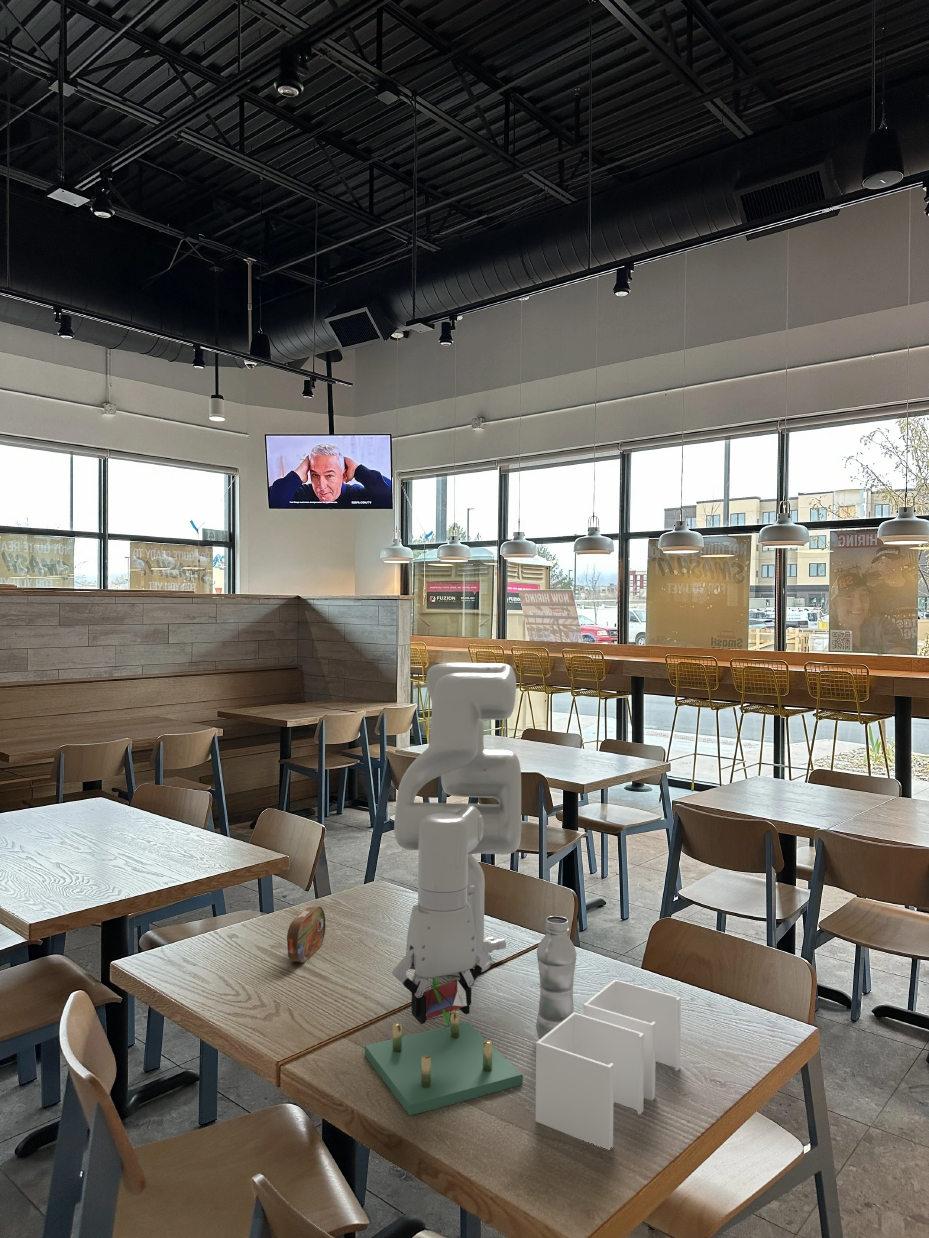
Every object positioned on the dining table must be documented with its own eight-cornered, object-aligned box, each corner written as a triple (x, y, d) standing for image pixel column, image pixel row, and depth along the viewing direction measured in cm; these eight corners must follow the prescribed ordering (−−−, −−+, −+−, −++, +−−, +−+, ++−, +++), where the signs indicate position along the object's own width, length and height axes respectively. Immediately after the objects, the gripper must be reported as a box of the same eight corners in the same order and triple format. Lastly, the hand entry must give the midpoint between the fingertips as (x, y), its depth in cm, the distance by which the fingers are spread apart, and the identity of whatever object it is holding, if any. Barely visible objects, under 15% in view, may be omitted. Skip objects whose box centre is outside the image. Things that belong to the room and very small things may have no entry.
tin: (299, 969, 165) (299, 926, 165) (283, 968, 165) (284, 924, 165) (326, 940, 179) (327, 901, 179) (312, 939, 180) (313, 900, 180)
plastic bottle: (548, 1057, 132) (550, 929, 132) (528, 1037, 138) (529, 915, 138) (584, 1049, 135) (585, 924, 135) (562, 1030, 141) (563, 910, 141)
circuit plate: (467, 1030, 141) (467, 1021, 141) (522, 1084, 125) (522, 1074, 125) (364, 1054, 133) (364, 1045, 133) (409, 1115, 116) (409, 1104, 116)
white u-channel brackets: (614, 1047, 136) (614, 979, 136) (680, 1068, 130) (680, 997, 130) (535, 1122, 115) (536, 1042, 115) (609, 1152, 109) (610, 1067, 109)
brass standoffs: (457, 1033, 137) (457, 1008, 137) (493, 1070, 126) (494, 1043, 126) (391, 1048, 131) (391, 1023, 131) (423, 1088, 120) (423, 1060, 120)
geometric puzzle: (403, 1016, 125) (436, 973, 125) (409, 995, 132) (440, 955, 132) (442, 1046, 125) (475, 1004, 125) (445, 1024, 132) (477, 984, 131)
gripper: (481, 882, 136) (480, 994, 136) (380, 897, 128) (379, 1016, 128) (504, 896, 129) (503, 1014, 129) (399, 913, 121) (397, 1038, 121)
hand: (441, 1014), depth 128 cm, fingers closed on geometric puzzle, 6 cm apart
